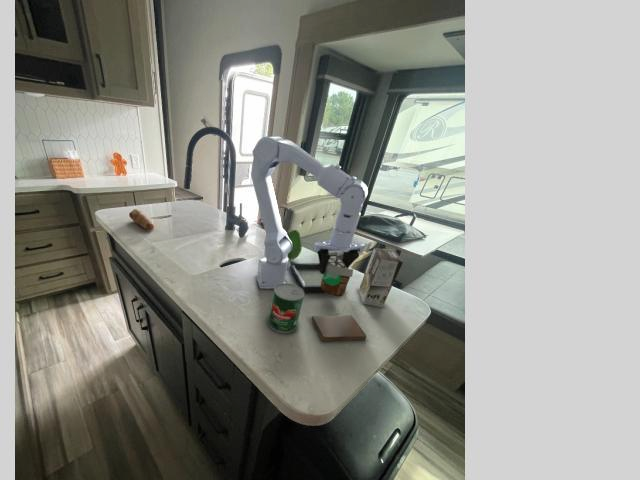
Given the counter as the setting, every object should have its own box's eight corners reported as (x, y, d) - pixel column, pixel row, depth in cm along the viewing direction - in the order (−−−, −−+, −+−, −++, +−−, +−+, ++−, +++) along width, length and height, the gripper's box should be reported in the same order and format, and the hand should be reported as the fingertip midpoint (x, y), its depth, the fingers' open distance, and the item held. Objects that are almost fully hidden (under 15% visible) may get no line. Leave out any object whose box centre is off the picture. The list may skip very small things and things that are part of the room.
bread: (142, 218, 138) (140, 207, 135) (156, 231, 126) (155, 219, 123) (129, 220, 135) (127, 209, 131) (143, 233, 122) (141, 221, 119)
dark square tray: (302, 293, 89) (303, 286, 88) (289, 268, 103) (290, 262, 102) (344, 292, 91) (346, 286, 90) (326, 268, 105) (327, 263, 104)
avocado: (291, 252, 115) (296, 225, 108) (303, 260, 109) (309, 232, 102) (276, 255, 112) (280, 227, 105) (287, 263, 106) (292, 234, 99)
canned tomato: (270, 332, 72) (275, 299, 66) (267, 314, 79) (272, 282, 72) (299, 333, 72) (307, 300, 66) (294, 315, 79) (301, 283, 73)
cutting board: (322, 341, 71) (323, 337, 70) (311, 319, 78) (312, 315, 77) (364, 340, 72) (366, 336, 71) (350, 318, 79) (351, 315, 78)
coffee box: (383, 307, 85) (404, 262, 76) (362, 304, 86) (380, 258, 77) (377, 292, 93) (395, 249, 83) (358, 289, 93) (374, 246, 84)
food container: (311, 278, 90) (318, 251, 84) (329, 278, 90) (337, 251, 85) (324, 299, 80) (333, 270, 74) (343, 299, 80) (354, 270, 75)
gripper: (324, 234, 70) (313, 279, 77) (376, 235, 71) (360, 278, 79) (315, 224, 75) (305, 267, 83) (363, 225, 77) (349, 267, 85)
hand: (331, 272), depth 82 cm, fingers closed on food container, 6 cm apart
